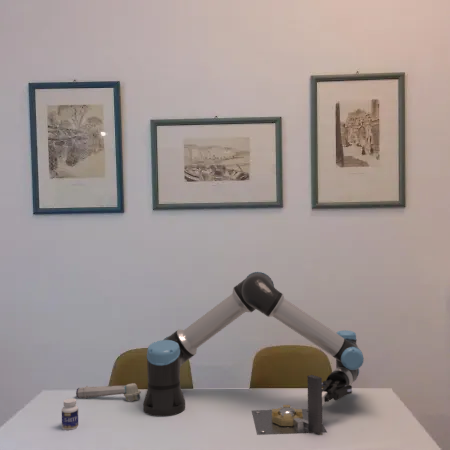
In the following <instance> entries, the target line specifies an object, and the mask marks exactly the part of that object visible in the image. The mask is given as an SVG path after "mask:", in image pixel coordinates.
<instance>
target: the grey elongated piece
mask: <svg viewBox="0 0 450 450" xmlns="http://www.w3.org/2000/svg"><path fill="white" fill-rule="evenodd" d="M75 394H76V398H77V399H86V400H87V399H88V398H97V397H106V396H114V395H115V396H117V395H123V396H124V397H125V398H124V399H125V401H126V402H129V403H130V402H131V403H132V402H134V401H140V399H141V394H142V393H141V390H139V388H138V385H137V384H136V383H135V382H134V383H133V382H132V383H127V384H126V385H104V386H88V385H86V386H84V387H78V388H77V389H76V391H75Z"/></svg>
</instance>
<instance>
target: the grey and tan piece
mask: <svg viewBox="0 0 450 450" xmlns="http://www.w3.org/2000/svg"><path fill="white" fill-rule="evenodd" d="M322 383H323V379H322V377H321V376H317V375H314V374H310V375H307V409H308V421H307V420H304V419H303V414H302V409H303V408H294V407H292V408H293V409H294V410H295V416H292V417H291V414H284V417H283V416H280V409H281V408H286V407H287V408H291V405H290V404H283V405H282V407H278V408H272V409H271V410H272V422H273V423H275V424H278V425H280V426H293V419H295V418H300V419H301V420H302V421H303V427H305V428H308V430H309V431H312V432H314V433H313V434H317V435H320V433H322V432H323V429H322V424H323V406H322V388H323V386H322ZM322 434H323V433H322Z"/></svg>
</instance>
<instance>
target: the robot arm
mask: <svg viewBox="0 0 450 450" xmlns="http://www.w3.org/2000/svg"><path fill="white" fill-rule="evenodd" d="M274 285H275V284H274V281H273V280H272V278H271V277H270V275H269V274H267V273H265V272H263V271H255V272H250V274H248V275H247V276H246V277H245V279H243V280H242V281H241V282H239V283H238V284H236V285H235V286H234V287H233V289H232V293H231V294H230V295H229V296H227V297H225V298H224V300H222V301H220V302H219V303H218V304H216V305H215V306H214V307H213V308H211V309H210V310H208V311H207V312H206V313H205V314H203V315H202V316H201V317H200V318H198V319H197V320H196V321H194V322H192V323H191V324H190V325H188V326H187V327H186V328H185V329H179V328H178V329H177V330H175V332H173V333H172V334H170V335H169V336H166V337H165V338H164V339H162V340H157V341H154V342H152V343H150V344H149V345H148V347H147V351H146V359H147V361H146V362H147V363H146V364H147V391H146V393H145V396H144V397H145V398H144V401H143V403H142V404H143V408H142V409H143V412H144V413H145V414H147V415H150V416H155V417H168V416H174V415H177V414H180V413H182V412H183V411H184V410H186V399H185V396H184V393H183V390H182V387H181V367H182V365H183V364H185V363H186V362H187V361H189V360H190V359H191V358H193V357H194V356H196V354H197V350H198V349H199V347H200V346H202V345H203V344H205V343H206V342H207V341H208V340H210V339H211V338H213V337H214V336H215V335H216V334H218V333H220V332H221V331H222V330H224V328H226V327H228V326H229V325H230V324H232V323H233V322H234V321H236V320H237V319H239V317H241V316H242V315H243V314H245V313H246V312H247V313H252V312H254V311H256V310H257V311H258V312H260V313H262V314H263V315H264V316H266V317H268V318H270V317H273V318H274V319H276V320H278V322H280V323H282V324H284V325H285V326H287V327H288V328H290V329H291V330H293V331H294V332H296V333H297V334H299V335H300V336H301V337H304V338H305V339H306V340H308V341H309V342H310V343H312V344H313V345H315V346H316V347H318V348H320V349H321V350H323V351H324V352H326V354H329V356H332V357H333V358H334V359H335V369H334V370H333V371H332V372H331V373H330V374H329V375H328V376H327V378H326V380H324V381H323V380H322V407H323V406H324V405H325V403H328V402H329V401H332V400H334V401H339V400H341V399H342V398H343V397H346V396H348V395H350V394H351V395H352V393H353V390H352V389H353V386H352V384H353V383H354V382H355V381H357V380H358V376H359V374H360V368H361V367H362V366H363V364H364V361H365V360H364V354H363V352H362V350H361V349H360V347H359V346H358V345H357V341H358V340H357V334H356V332H354V331H352V330H345V329H344V330H338V331H337V332H335V331H334V330H332V329H330V328H329V327H327V326H326V325H325V324H324V323H322V322H320V321H319V320H317V319H316V318H314V316H311V315H310V314H308V313H307V312H305V311H303V310H302V309H301V308H299V307H298V306H296V305H295V304H293V303H292V302H290V301H289V300H288V299H286V298H285V295H284V293H282V292H280V290H277V288H276V287H275V286H274Z"/></svg>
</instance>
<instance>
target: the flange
mask: <svg viewBox="0 0 450 450" xmlns="http://www.w3.org/2000/svg"><path fill="white" fill-rule="evenodd" d="M280 408H281V409H280V416H283V417H284V414H291V417H292V416H295V410H294V409H293V408H294V407H290V408H287V407H286V408H283V407H280ZM301 409H302V414H303V419H304V420H307V421H308V408H301ZM251 414H252V418H253V419H252V420H253V423H254V427H255V431H256V435H257V436H263V435H291V434H293V435H294V434H295V435H297V434H298V435H299V434H315V433H314V432H312V431H309V430H308V428H305V427H303V421H302V420H301V419H300V418H295V419H293V426H280V425H278V424H275V423H273V422H272V409H260V410H257V409H256V410H253V409H252V410H251ZM322 429H323V432H322V433H320V434H319V436H323V433H324V434H326V433H327V434H328V431H327V429H326V428H325V425H324V424H323V423H322Z"/></svg>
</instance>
